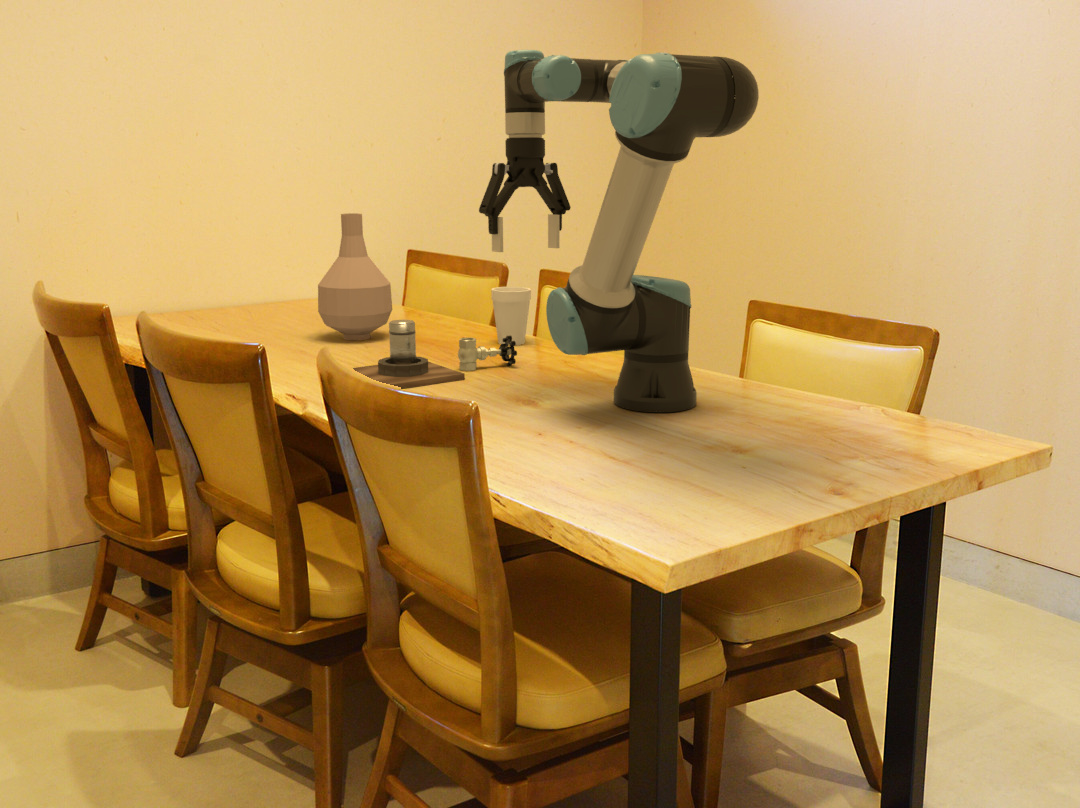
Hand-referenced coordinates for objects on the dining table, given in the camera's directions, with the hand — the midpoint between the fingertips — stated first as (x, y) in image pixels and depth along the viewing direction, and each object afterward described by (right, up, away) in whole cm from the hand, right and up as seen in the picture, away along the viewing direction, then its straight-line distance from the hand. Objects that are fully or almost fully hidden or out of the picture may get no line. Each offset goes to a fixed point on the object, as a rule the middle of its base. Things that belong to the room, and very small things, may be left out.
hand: (526, 250), depth 198 cm
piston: (-25, -23, +10) cm, 36 cm away
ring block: (-25, -24, +10) cm, 36 cm away
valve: (-9, -22, +19) cm, 31 cm away
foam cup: (-4, -16, +46) cm, 49 cm away
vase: (-42, -14, +53) cm, 69 cm away
